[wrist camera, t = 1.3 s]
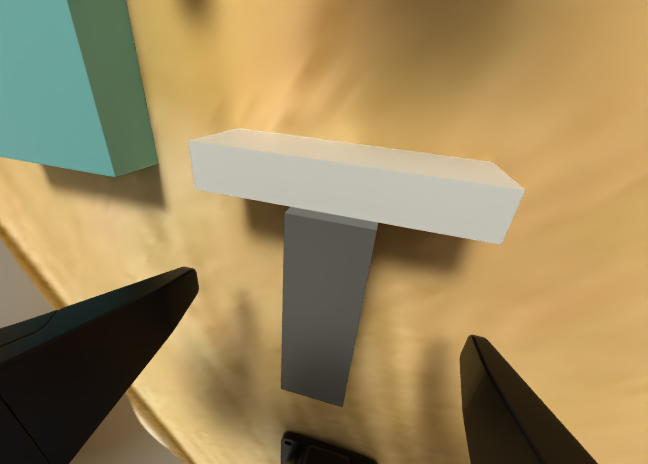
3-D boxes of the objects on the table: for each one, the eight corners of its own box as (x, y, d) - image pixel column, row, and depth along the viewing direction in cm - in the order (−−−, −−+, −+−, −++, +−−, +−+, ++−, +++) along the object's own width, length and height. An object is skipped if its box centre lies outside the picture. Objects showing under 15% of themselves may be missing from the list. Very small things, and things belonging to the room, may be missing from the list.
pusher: (420, 356, 14) (425, 432, 11) (249, 312, 15) (211, 367, 12) (491, 161, 9) (533, 197, 6) (239, 127, 11) (176, 143, 8)
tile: (164, 162, 13) (115, 177, 11) (42, 142, 14) (-24, 152, 12) (125, -47, 9) (43, -87, 7) (-29, -47, 11) (-138, -81, 9)
